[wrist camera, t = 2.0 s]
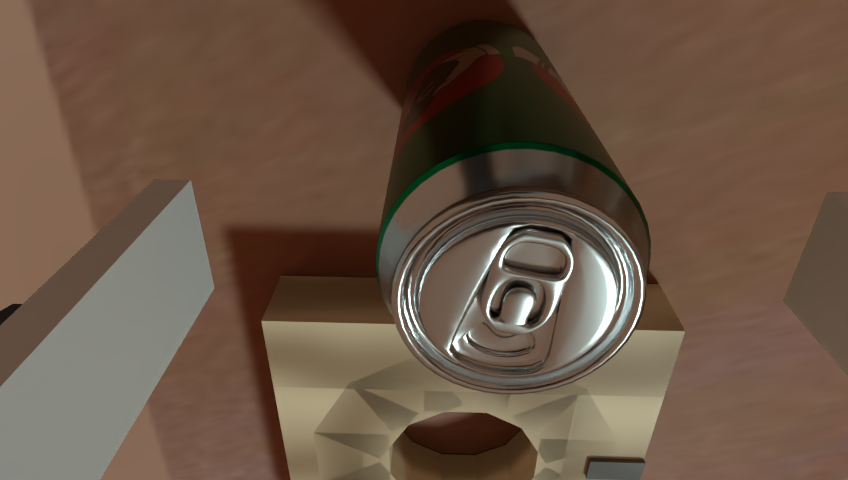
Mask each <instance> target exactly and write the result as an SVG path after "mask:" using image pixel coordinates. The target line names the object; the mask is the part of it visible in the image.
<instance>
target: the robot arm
mask: <svg viewBox="0 0 848 480" xmlns="http://www.w3.org/2000/svg"><path fill="white" fill-rule="evenodd" d="M213 290H214V283H213V279H212V274H211V270H210V265H209V261H208V256H207V251H206V247H205V242H204V238H203V233H202V229H201V224H200V220H199V215H198V211H197V206H196V202H195V197H194V192H193V188H192V183H191V180H165V179H154V180H153V181H152V182H151V183H150V184H149V185H148V186H147V187H146V188H145V189H144V190H143V191H142V192H141V193H140V194H138V195H137V196H136V197H135V198H134V199H133V200H132V201H131V202H130V203H129V204H128V205H127V206H126V207H125V208H124V209H123V210H122V211H121V212H119V213H118V214H117V215H116V216H115V217H114V218H113V219H112V220H111V221H110V222H109V223H108V224H107V225H106V226H105V227H104V228H103V229H102V230H100V231H99V232H98V233H97V234H96V235H95V236H94V237H93V238H92V239H91V240H90V241H89V242H88V243H87V244H86V245H85V246H84V247H83V248H81V249H80V250H79V251H78V252H77V253H76V254H75V255H74V256H73V257H72V258H71V259H70V260H69V261H68V262H67V263H66V264H65V265H64V266H62V268H60V269H59V270H58V271H57V272H56V273H55V274H54V275H53V276H52V277H51V278H50V279H49V280H48V281H47V282H46V283H45V284H43V285H42V287H40V288H39V289H38V290H37V291H36V292H35V293H34V294H33V295H32V296H31V297H30V298H29V299H28V300H27V301H26V302H25V303H23V304H12V305H10V306H8V307H7V308H5V309H3V310H1V311H0V480H100V479H101V477H102V475H103V474H104V472H105V470H106V469H107V467H108V465H109V464H110V462H111V460H112V458H113V457H114V455H115V454H116V451H117V450H118V448H119V447H120V445H121V443H122V442H123V440H124V438H125V437H126V435H127V433H128V432H129V430H130V428H131V427H132V425H133V423H134V422H135V420H136V418H137V417H138V415H139V413H140V412H141V410H142V408H143V407H144V405H145V403H146V402H147V400H148V398H149V397H150V395H151V393H152V392H153V390H154V388H155V387H156V385H157V383H158V382H159V380H160V378H161V377H162V375H163V373H164V372H165V370H166V368H167V367H168V365H169V363H170V362H171V360H172V358H173V357H174V355H175V353H176V352H177V350H178V348H179V347H180V345H181V343H182V341H183V340H184V338H185V336H186V335H187V333H188V331H189V330H190V328H191V326H192V325H193V323H194V321H195V320H196V318H197V316H198V315H199V313H200V311H201V310H202V308H203V306H204V305H205V303H206V301H207V300H208V298H209V296H210V295H211V293H212V291H213ZM783 301H784V302H785V303H786V305H787V306H788V307H789V308H790V309H791V310H792V311H793V313H794V314H795V315H796V316H797V317H798V318H799V320H800V321H801V322H802V323H803V324H804V325H805V327H806V328H807V329H808V330H809V331H810V332H811V333H812V335H813V336H814V337H815V338H816V339H817V340H818V342H819V343H820V344H821V345H822V346H823V347H824V349H825V350H826V351H827V352H828V353H829V354H830V356H831V357H832V358H833V359H834V360H835V361H836V362H837V364H838V365H839V366H840V367H841V368H842V369H843V371H844V372H845V373H846V374H847V375H848V192H827V194H826V197H825V199H824V202H823V204H822V207H821V209H820V212H819V214H818V216H817V219H816V221H815V224H814V226H813V229H812V231H811V234H810V236H809V239H808V241H807V243H806V246H805V248H804V251H803V253H802V256H801V258H800V261H799V263H798V266H797V268H796V271H795V273H794V275H793V278H792V280H791V283H790V285H789V288H788V290H787V293H786V295H785V298H784V300H783Z"/></svg>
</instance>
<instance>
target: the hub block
mask: <svg viewBox="0 0 848 480" xmlns="http://www.w3.org/2000/svg"><path fill="white" fill-rule="evenodd" d="M261 322H262V328H263V333H264V339H265V344H266V349H267V355H268V360H269V366H270V371H271V377H272V382H273V387H274V393H275V398H276V404H277V409H278V414H279V420H280V425H281V431H282V436H283V441H284V447H285V452H286V458H287V463H288V469H289V474H290V479H291V480H640V478H641V475H642V472H643V469H644V466H645V461H644V458H645V455H646V451H647V448H648V445H649V442H650V439H651V436H652V433H653V430H654V427H655V424H656V420H657V417H658V414H659V411H660V408H661V405H662V402H663V399H664V396H665V392H666V389H667V386H668V383H669V380H670V377H671V374H672V371H673V368H674V365H675V361H676V358H677V355H678V352H679V349H680V346H681V343H682V340H683V337H684V333H685V330H684V328H683V326H682V325H681V323H680V321H679V319H678V317H677V315H676V314H675V312H674V310H673V308H672V306H671V304H670V303H669V301H668V299H667V297H666V295H665V294H664V292H663V290H662V288H661V286H660V284H647V285H646V300H645V305H644V310H643V313H642V316H641V318H640V320H639V323H638V325H637V327H636V329H635V330H634V332H633V334H632V335H631V337H630V338H629V340H628V341H627V343H626V344H625V345H624V346H623V347H622V348H621V349H620V351H619V352H618V353H617V354H616V355H615V356H613V357H612V358H611V359H610V360H609V361H608V362H606V363H605V364H604V365H603V366H601V367H600V368H598V369H597V370H595V371H594V372H592V373H590V374H589V375H587V376H585V377H583V378H581V379H579V380H577V381H575V382H572V383H570V384H567V385H564V386H561V387H558V388H555V389H551V390H546V391H542V392H536V393H528V394H495V393H486V392H481V391H477V390H472V389H468V388H465V387H463V386H460V385H457V384H454V383H452V382H450V381H448V380H446V379H444V378H442V377H440V376H438V375H437V374H435V373H434V372H432V371H431V370H430V369H428V368H427V367H425V366H424V365H423V364H422V363H421V362H420V361H419V360H418V359H417V358H416V357H415V356H414V355H413V354H412V353H411V351H410V350H409V349H408V347H407V346H406V345H405V343H404V342H403V340H402V338H401V336H400V334H399V332H398V330H397V327H396V324H395V321H394V317H393V316H392V315H391V313H390V312H389V310H388V308H387V306H386V304H385V302H384V300H383V298H382V296H381V292H380V289H379V285H378V282H377V278H366V277H321V276H280V278H279V280H278V283H277V285H276V287H275V290H274V292H273V294H272V297H271V299H270V302H269V304H268V306H267V309H266V311H265V313H264V316H263V318H262V320H261ZM443 412H474V413H488V414H491V415H493V416H495V417H497V418H500V419H502V420H504V421H506V422H509V423H511V424H513V425H515V426H518V427H520V428H522V429H521V430H520V431H519V432H518V433H517V434H516V435H515V436H514V437H513V438H512V439H511V440H510V441H509V442H508V443H507V444H506V445H504V446H501V447H498V448H495V449H492V450H489V451H486V452H483V453H480V454H477V455H454V454H440V453H438V452H435V451H433V450H430V449H428V448H426V447H423V446H421V445H418V444H416V443H413V442H412V441H411V440H410V439H409V437H408V436H407V435H406V434H405V433H404V432H403V431H404V430H405V429H406V428H407V426H408V425H410V424H413V423H416V422H418V421H421V420H424V419H426V418H429V417H432V416H435V415H437V414H440V413H443Z"/></svg>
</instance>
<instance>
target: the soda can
mask: <svg viewBox="0 0 848 480" xmlns="http://www.w3.org/2000/svg"><path fill="white" fill-rule="evenodd" d="M650 251H651V240H650V234H649V229H648V223H647V220H646V218H645V215H644V213H643V210H642V208H641V205H640V203H639V202H638V200H637V199H636V197H635V195H634V194H633V192H632V191H631V189H630V187H629V186H628V184H627V183H626V181H625V180H624V178H623V176H622V175H621V173H620V172H619V170H618V168H617V167H616V165H615V164H614V162H613V160H612V159H611V157H610V156H609V154H608V153H607V151H606V149H605V148H604V146H603V145H602V143H601V141H600V140H599V138H598V137H597V135H596V133H595V132H594V130H593V129H592V127H591V126H590V124H589V122H588V121H587V119H586V118H585V116H584V114H583V113H582V111H581V110H580V108H579V106H578V105H577V103H576V102H575V100H574V98H573V97H572V95H571V94H570V92H569V91H568V89H567V87H566V86H565V84H564V83H563V81H562V79H561V78H560V76H559V75H558V73H557V71H556V70H555V68H554V67H553V65H552V64H551V62H550V60H549V59H548V57H547V56H546V54H545V53H544V51H543V49H542V48H541V47H540V46H539V44H538V43H537V42H536V41H535V40H534V39H533V38H532V37H530V36H529V35H528V34H526V33H525V32H524V31H522V30H520V29H518V28H516V27H514V26H512V25H509V24H506V23H503V22H499V21H492V20H475V21H470V22H465V23H461V24H459V25H456V26H453V27H451V28H449V29H447V30H445V31H444V32H442V33H440V34H439V35H438V36H436V37H435V38H434V39H433V40H431V41H430V42H429V43H428V45H427V46H426V47H425V48H424V49H423V50H422V51H421V53H420V54H419V56H418V57H417V59H416V60H415V63H414V65H413V67H412V69H411V71H410V75H409V79H408V82H407V87H406V93H405V98H404V103H403V109H402V114H401V119H400V124H399V130H398V135H397V140H396V145H395V151H394V156H393V161H392V167H391V172H390V177H389V182H388V188H387V193H386V198H385V203H384V209H383V214H382V219H381V225H380V230H379V235H378V240H377V248H376V258H375V265H376V276H377V282H378V285H379V289H380V292H381V296H382V298H383V300H384V302H385V304H386V306H387V308H388V310H389V312H390V313H391V315H392V316H393V317H394V321H395V324H396V327H397V330H398V332H399V334H400V336H401V338H402V340H403V342H404V343H405V345H406V346H407V347H408V349H409V350H410V351H411V353H412V354H413V355H414V356H415V357H416V358H417V359H418V360H419V361H420V362H421V363H422V364H423V365H424V366H425V367H427V368H428V369H430V370H431V371H432V372H434V373H435V374H437V375H438V376H440V377H442V378H444V379H446V380H448V381H450V382H452V383H454V384H457V385H460V386H463V387H465V388H468V389H472V390H477V391H481V392H486V393H495V394H528V393H536V392H542V391H546V390H551V389H555V388H558V387H561V386H564V385H567V384H570V383H572V382H575V381H577V380H579V379H581V378H583V377H585V376H587V375H589V374H590V373H592V372H594V371H595V370H597V369H598V368H600V367H601V366H603V365H604V364H605V363H606V362H608V361H609V360H610V359H611V358H612V357H613V356H615V355H616V354H617V353H618V352H619V351H620V349H621V348H622V347H623V346H624V345H625V344H626V343H627V341H628V340H629V338H630V337H631V335H632V334H633V332H634V330H635V329H636V327H637V325H638V323H639V320H640V318H641V316H642V313H643V310H644V305H645V300H646V285H647V273H648V268H649V263H650Z"/></svg>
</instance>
